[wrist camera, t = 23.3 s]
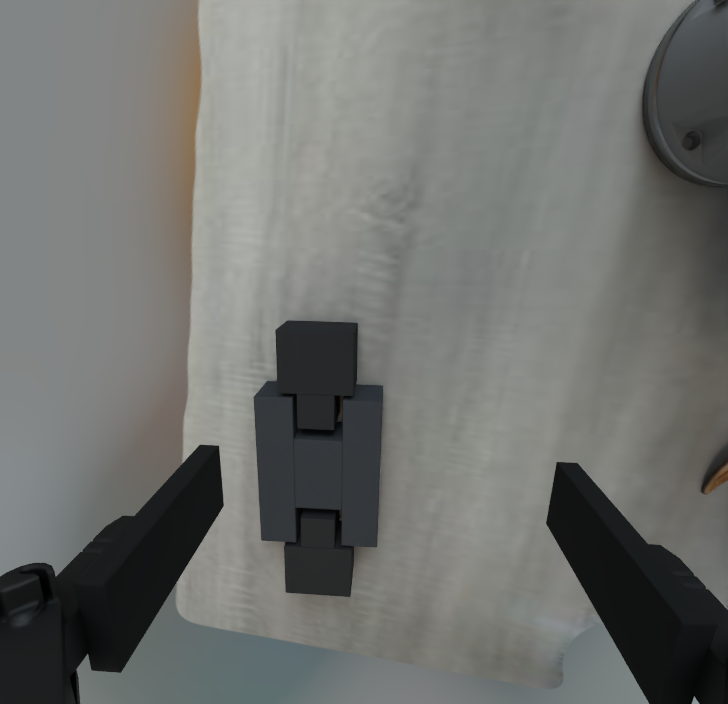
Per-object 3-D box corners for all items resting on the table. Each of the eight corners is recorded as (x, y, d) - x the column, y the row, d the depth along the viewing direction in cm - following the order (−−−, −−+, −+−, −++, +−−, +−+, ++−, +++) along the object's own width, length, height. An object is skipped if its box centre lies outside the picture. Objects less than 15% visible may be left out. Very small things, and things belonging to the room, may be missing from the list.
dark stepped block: (355, 494, 44) (351, 521, 40) (353, 564, 47) (350, 596, 43) (292, 491, 45) (283, 517, 40) (294, 561, 47) (285, 592, 43)
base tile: (382, 385, 41) (382, 402, 36) (377, 518, 45) (376, 547, 41) (267, 380, 41) (253, 396, 37) (272, 512, 45) (261, 540, 41)
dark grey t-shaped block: (357, 322, 39) (354, 332, 35) (356, 412, 42) (352, 431, 37) (287, 320, 39) (275, 329, 35) (289, 409, 42) (278, 427, 38)
